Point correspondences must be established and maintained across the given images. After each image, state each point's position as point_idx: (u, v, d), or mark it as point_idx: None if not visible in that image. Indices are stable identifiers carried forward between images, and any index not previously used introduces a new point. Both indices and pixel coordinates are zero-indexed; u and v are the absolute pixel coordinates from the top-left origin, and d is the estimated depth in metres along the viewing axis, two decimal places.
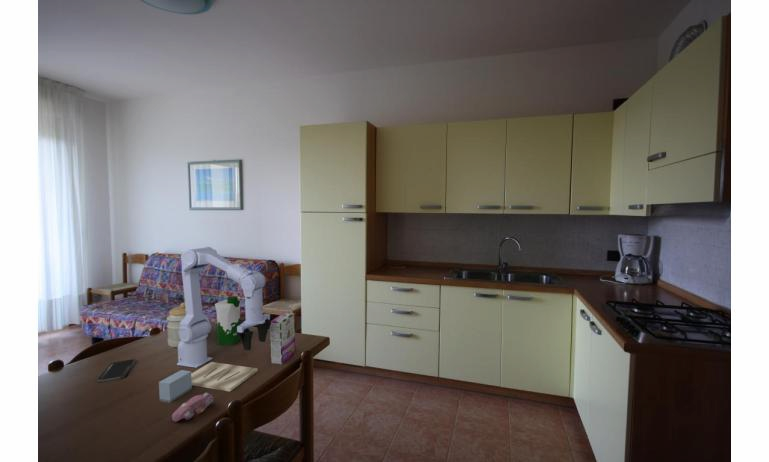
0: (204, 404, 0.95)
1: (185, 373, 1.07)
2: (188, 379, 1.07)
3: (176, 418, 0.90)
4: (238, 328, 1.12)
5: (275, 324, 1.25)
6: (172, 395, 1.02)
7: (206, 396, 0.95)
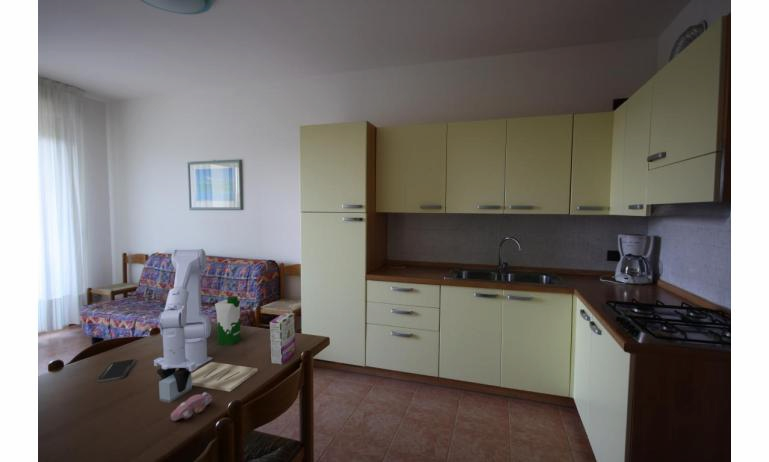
0: (203, 403, 0.95)
1: None
2: (188, 379, 1.07)
3: (175, 417, 0.91)
4: None
5: (275, 324, 1.25)
6: (172, 395, 1.02)
7: (205, 395, 0.96)
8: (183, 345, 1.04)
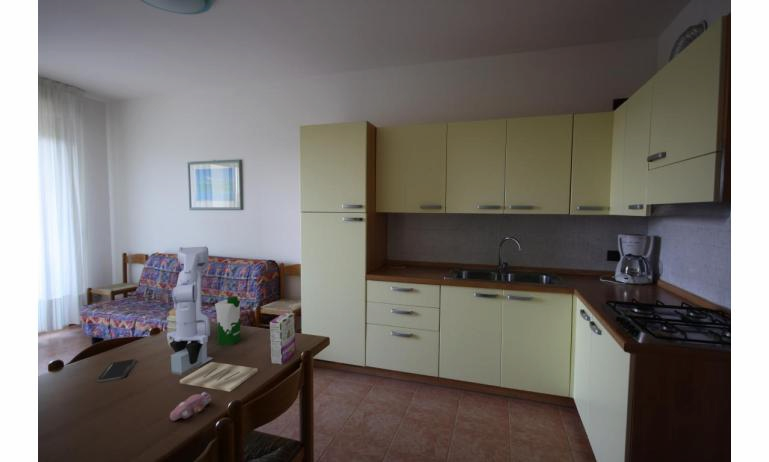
0: (202, 403, 0.95)
1: None
2: None
3: (174, 417, 0.91)
4: None
5: (275, 324, 1.25)
6: (183, 368, 1.05)
7: (204, 395, 0.96)
8: (195, 319, 1.09)
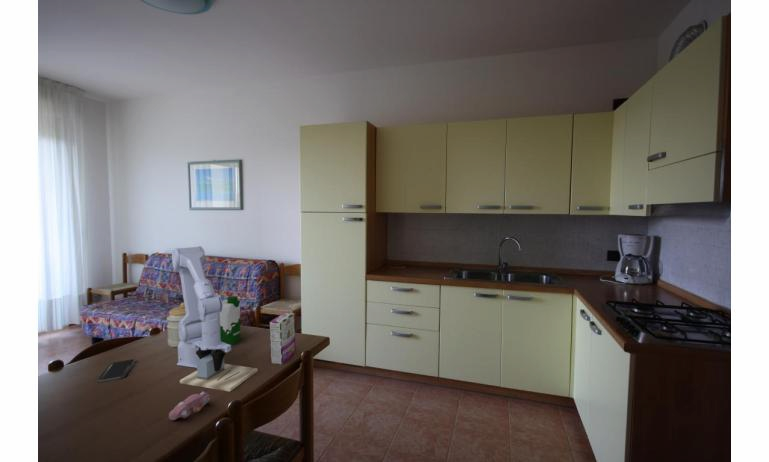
0: (201, 403, 0.96)
1: None
2: None
3: (173, 416, 0.91)
4: None
5: (275, 324, 1.25)
6: (208, 373, 1.13)
7: (203, 395, 0.96)
8: None
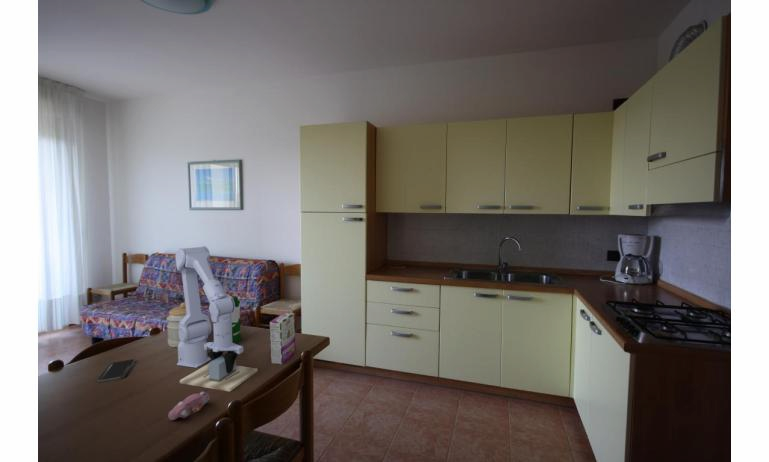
0: (200, 403, 0.96)
1: None
2: None
3: (172, 416, 0.91)
4: None
5: (275, 324, 1.25)
6: (221, 375, 1.12)
7: (202, 395, 0.96)
8: None
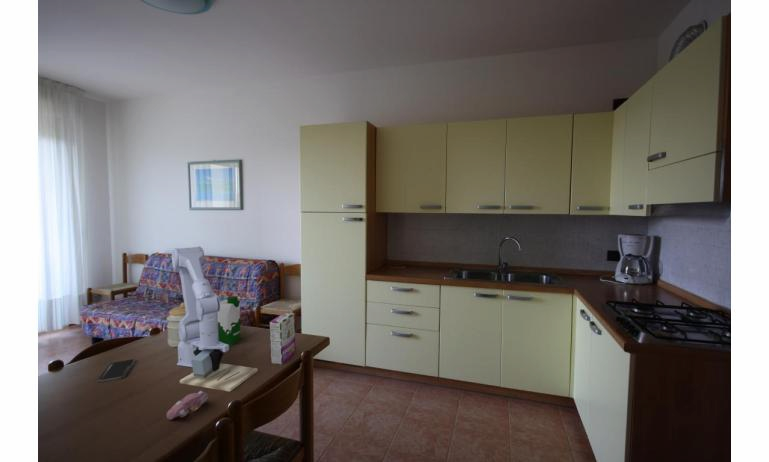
0: (199, 402, 0.96)
1: None
2: None
3: (171, 415, 0.91)
4: None
5: (275, 324, 1.25)
6: (205, 370, 1.12)
7: (201, 394, 0.96)
8: None
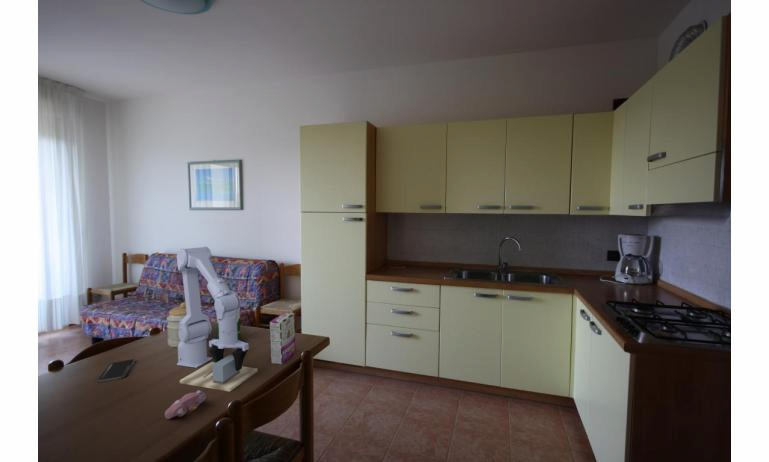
0: (197, 401, 0.96)
1: None
2: None
3: (169, 415, 0.92)
4: None
5: (275, 324, 1.25)
6: (225, 377, 1.10)
7: (199, 393, 0.97)
8: None
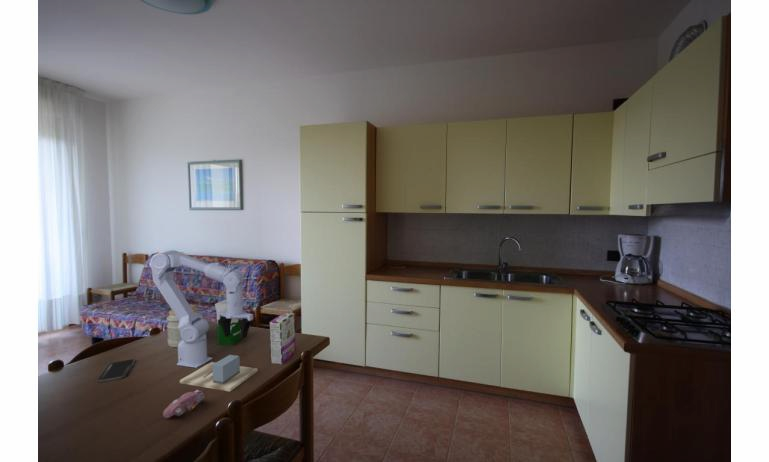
0: (195, 401, 0.97)
1: (235, 357, 1.16)
2: (237, 363, 1.16)
3: (167, 414, 0.92)
4: None
5: (275, 324, 1.25)
6: (225, 377, 1.10)
7: (197, 393, 0.97)
8: None
